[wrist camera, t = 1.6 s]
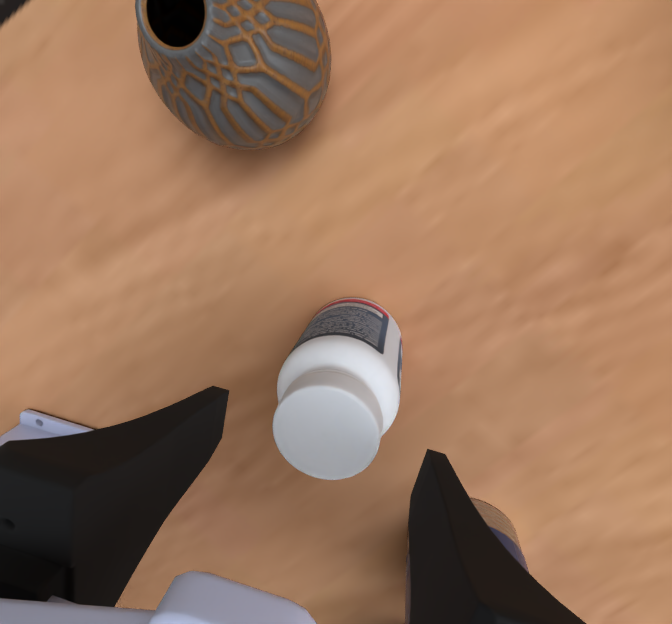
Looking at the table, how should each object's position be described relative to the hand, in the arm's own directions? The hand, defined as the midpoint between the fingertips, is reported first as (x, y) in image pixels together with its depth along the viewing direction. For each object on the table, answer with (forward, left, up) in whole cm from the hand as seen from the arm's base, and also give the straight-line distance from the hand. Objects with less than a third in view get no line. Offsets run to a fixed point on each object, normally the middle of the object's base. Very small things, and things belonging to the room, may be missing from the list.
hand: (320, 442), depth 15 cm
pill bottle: (0, 0, -10) cm, 10 cm away
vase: (-7, +12, -10) cm, 17 cm away
